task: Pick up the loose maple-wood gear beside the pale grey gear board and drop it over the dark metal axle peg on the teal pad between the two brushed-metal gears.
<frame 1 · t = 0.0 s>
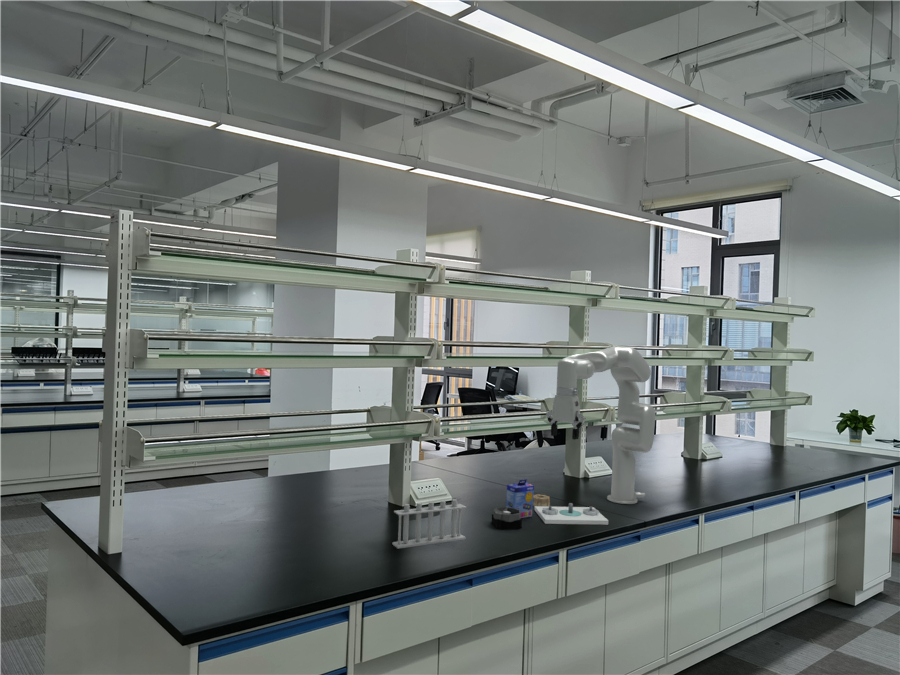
hand: (564, 437, 246), 31 cm above the counter, fingers open, 9 cm apart
ink cartridge box: (518, 516, 248), on the counter
gear board: (570, 517, 250), on the counter
cpu cooler: (506, 526, 236), on the counter
test tube rack: (429, 542, 214), on the counter
maple gear: (540, 505, 265), on the counter
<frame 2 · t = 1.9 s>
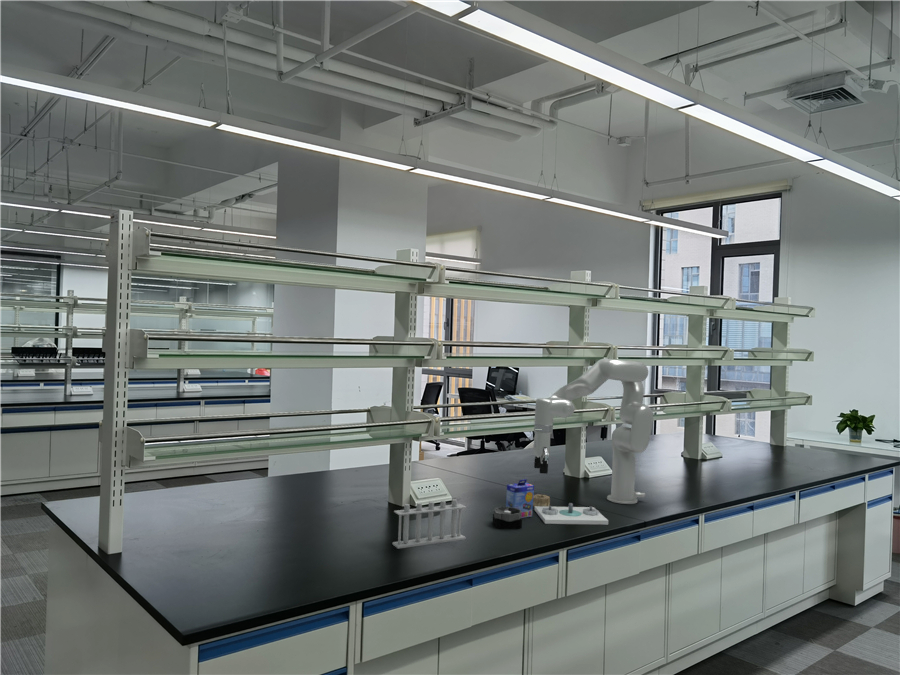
hand: (540, 470, 265), 14 cm above the counter, fingers open, 9 cm apart
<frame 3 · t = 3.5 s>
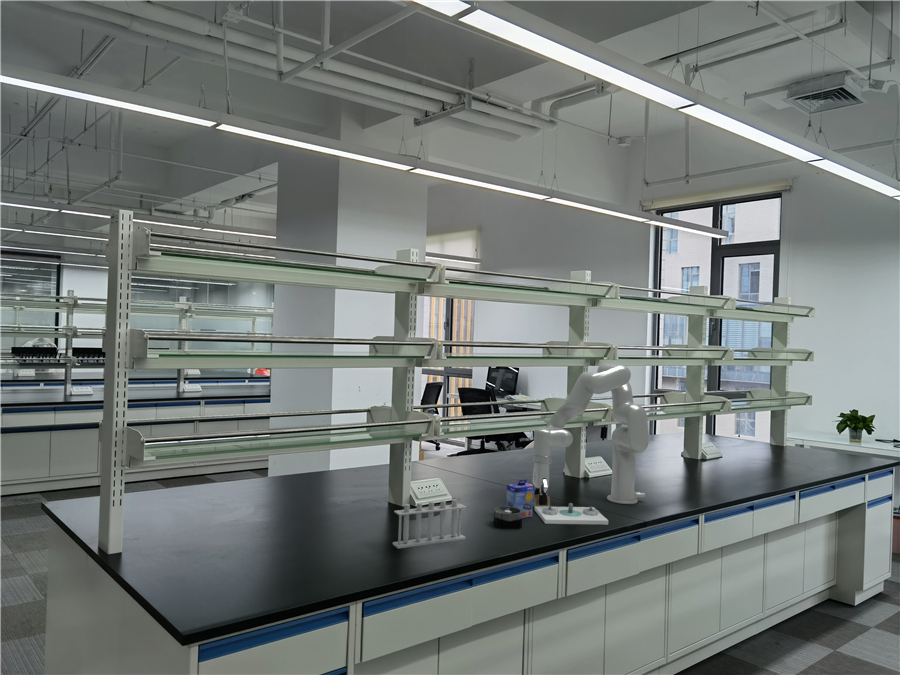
hand: (540, 501, 265), 1 cm above the counter, fingers closed on maple gear, 7 cm apart
maple gear: (540, 505, 265), on the counter, touching gripper
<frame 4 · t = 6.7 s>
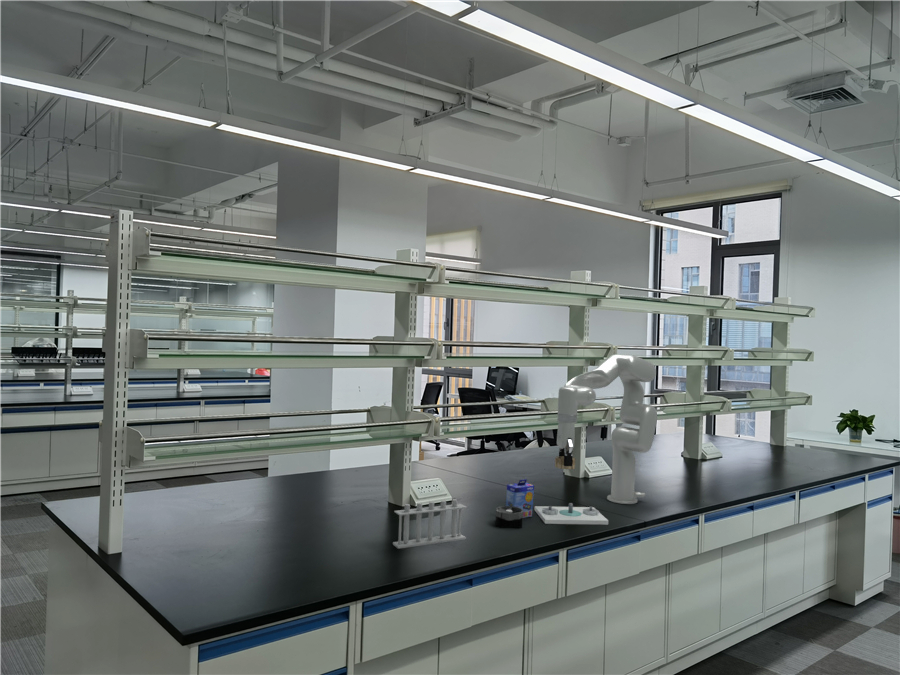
hand: (565, 463, 253), 20 cm above the counter, fingers closed on maple gear, 7 cm apart
maple gear: (564, 467, 253), point 18 cm above the counter, touching gripper
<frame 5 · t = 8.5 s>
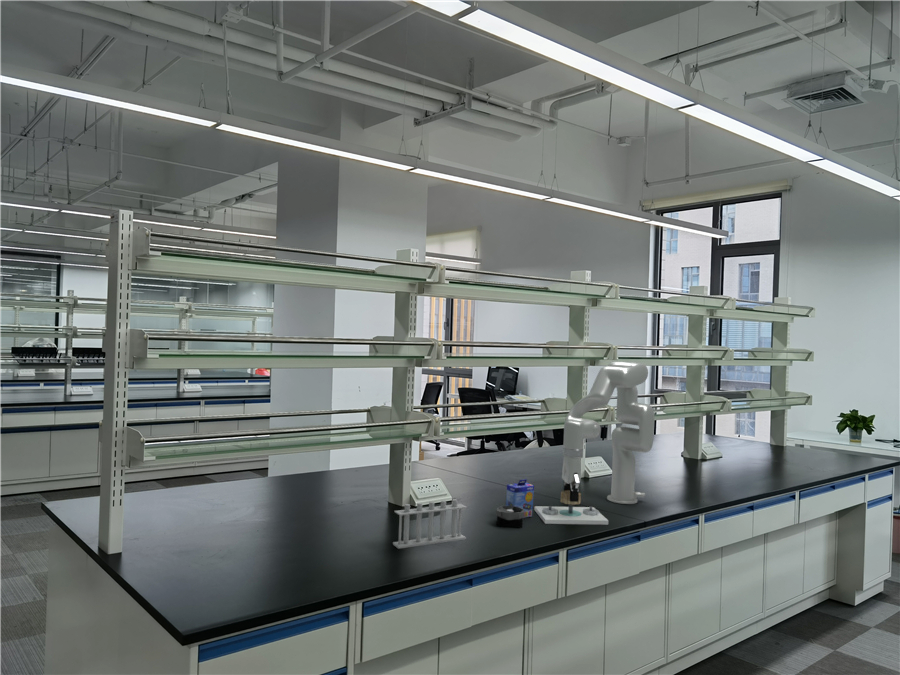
hand: (570, 498, 250), 7 cm above the counter, fingers closed on maple gear, 7 cm apart
maple gear: (570, 502, 250), point 6 cm above the counter, touching gripper
when the fingers open (4 cm above the counter, at t = 10.1 s): maple gear stays where it is, resting on gear board.
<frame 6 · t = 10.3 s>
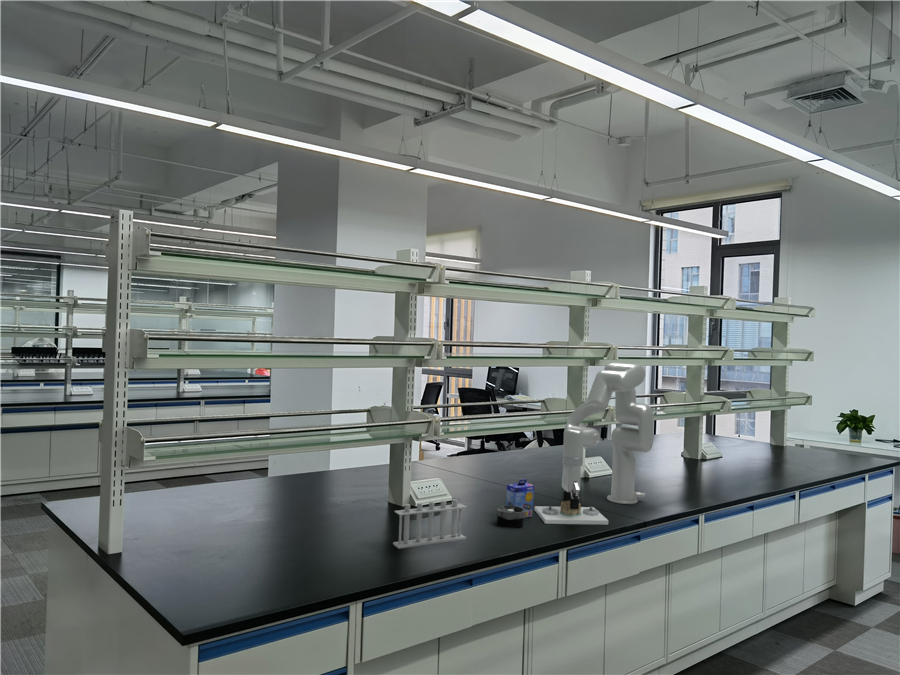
hand: (570, 505, 250), 4 cm above the counter, fingers open, 9 cm apart
maple gear: (570, 512, 250), point 2 cm above the counter, touching gear board
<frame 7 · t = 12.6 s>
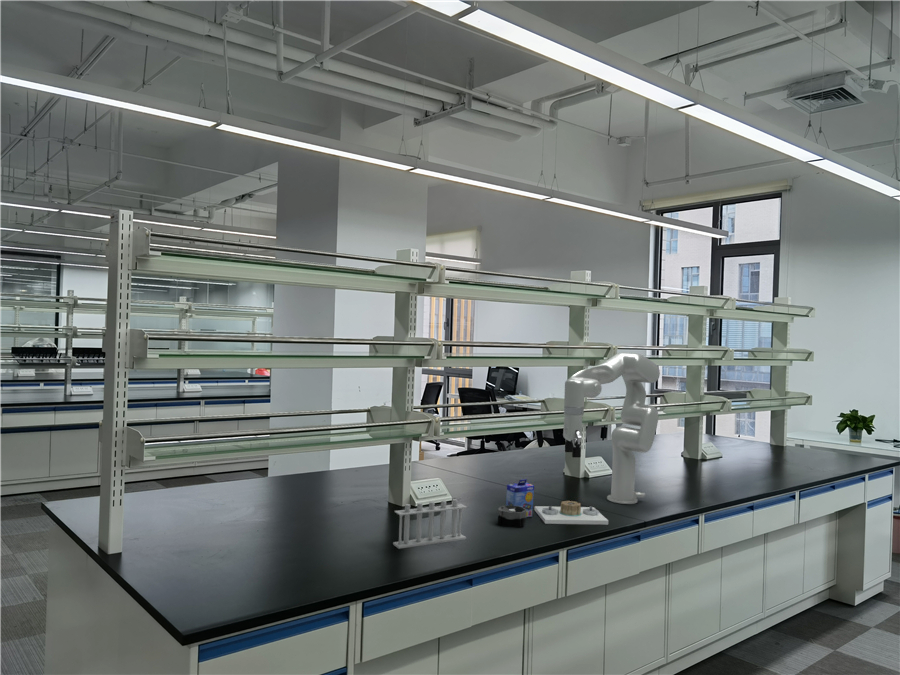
hand: (572, 454, 254), 23 cm above the counter, fingers open, 9 cm apart
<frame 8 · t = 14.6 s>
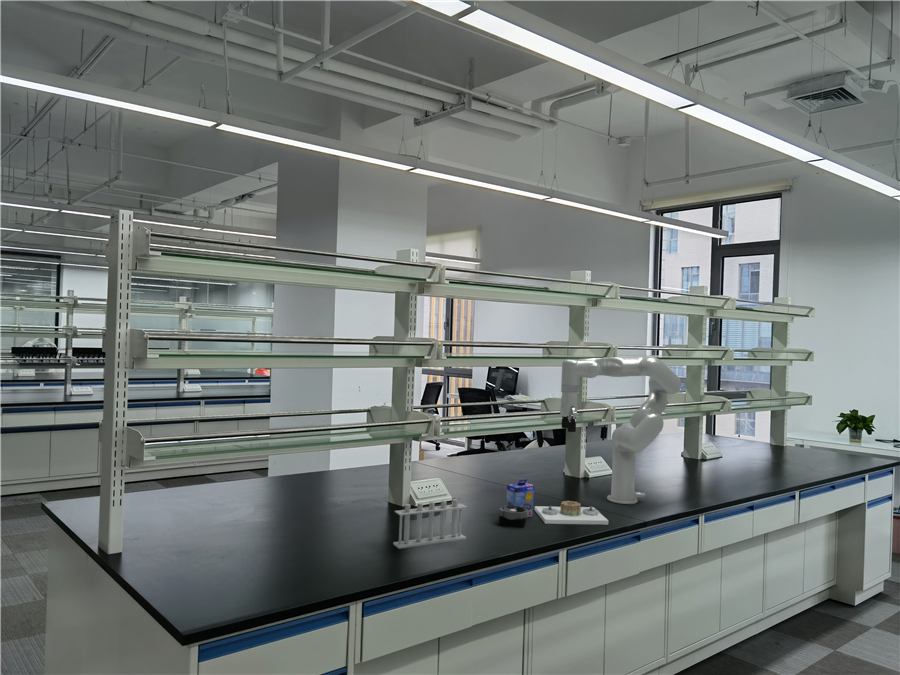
hand: (568, 429, 272), 30 cm above the counter, fingers open, 9 cm apart
at the end: maple gear 0.1 cm off-centre on the gear board, point 1.7 cm above the gear board's base; maple gear tilted 0°; the gripper is holding nothing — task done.
